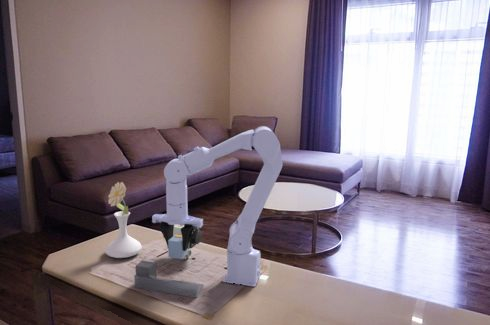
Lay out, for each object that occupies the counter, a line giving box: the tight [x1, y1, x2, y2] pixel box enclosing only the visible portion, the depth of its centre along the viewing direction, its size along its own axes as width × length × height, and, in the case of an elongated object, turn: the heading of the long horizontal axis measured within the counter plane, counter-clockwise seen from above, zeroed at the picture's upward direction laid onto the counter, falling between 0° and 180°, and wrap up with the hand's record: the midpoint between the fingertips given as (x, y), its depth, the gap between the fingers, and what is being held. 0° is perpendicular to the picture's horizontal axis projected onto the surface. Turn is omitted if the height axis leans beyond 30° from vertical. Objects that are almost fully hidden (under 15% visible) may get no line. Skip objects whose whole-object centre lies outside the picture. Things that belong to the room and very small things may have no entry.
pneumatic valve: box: [162, 224, 203, 260], centre depth 115 cm, size 6×12×12 cm, turn 70°
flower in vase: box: [104, 181, 143, 259], centre depth 114 cm, size 13×11×25 cm
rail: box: [134, 258, 205, 298], centre depth 97 cm, size 18×5×6 cm, turn 76°
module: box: [167, 235, 187, 260], centre depth 101 cm, size 4×4×5 cm
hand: (178, 248), depth 101 cm, fingers closed on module, 4 cm apart
